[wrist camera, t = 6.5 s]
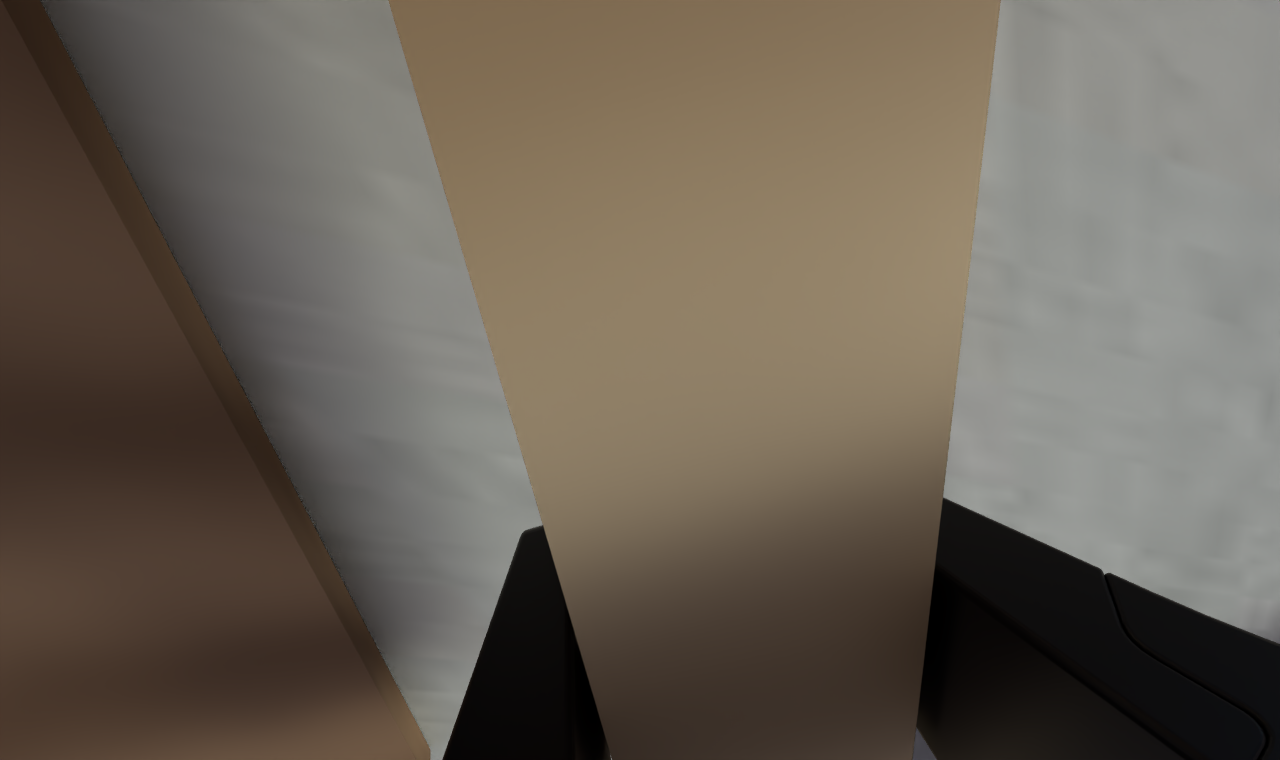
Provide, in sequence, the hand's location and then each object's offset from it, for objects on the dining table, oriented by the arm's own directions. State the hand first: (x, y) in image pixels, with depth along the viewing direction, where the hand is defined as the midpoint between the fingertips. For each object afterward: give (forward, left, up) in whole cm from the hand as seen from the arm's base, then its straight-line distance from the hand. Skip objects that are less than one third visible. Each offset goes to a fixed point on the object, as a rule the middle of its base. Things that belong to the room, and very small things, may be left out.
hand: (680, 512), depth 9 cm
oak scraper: (0, 0, -1) cm, 1 cm away
